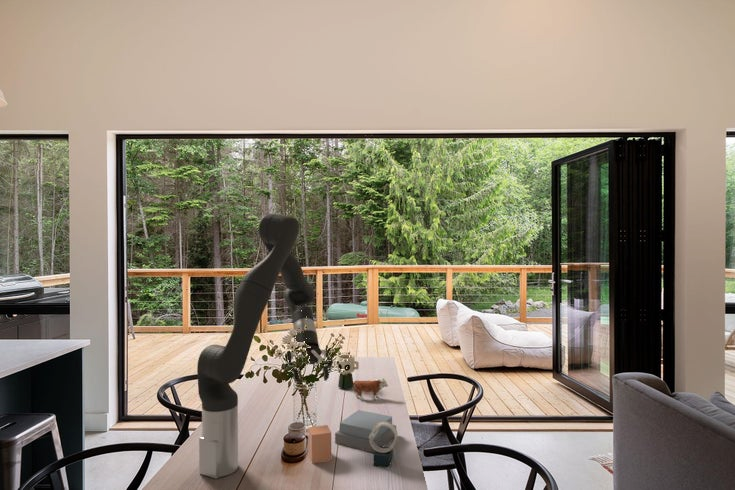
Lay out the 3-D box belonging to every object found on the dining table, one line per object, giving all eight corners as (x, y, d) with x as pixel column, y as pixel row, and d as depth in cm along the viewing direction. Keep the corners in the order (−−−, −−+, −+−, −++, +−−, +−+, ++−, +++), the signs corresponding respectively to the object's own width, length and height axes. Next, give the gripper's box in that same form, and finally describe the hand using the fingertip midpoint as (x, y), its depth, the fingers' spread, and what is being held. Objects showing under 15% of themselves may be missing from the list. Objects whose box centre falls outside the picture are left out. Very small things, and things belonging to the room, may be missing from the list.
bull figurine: (388, 401, 180) (388, 379, 179) (352, 400, 180) (352, 379, 180) (387, 397, 184) (387, 376, 184) (353, 396, 184) (353, 376, 184)
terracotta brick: (331, 460, 133) (331, 432, 132) (311, 463, 131) (311, 435, 131) (327, 452, 138) (327, 424, 138) (308, 454, 136) (308, 427, 136)
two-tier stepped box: (376, 453, 137) (376, 432, 137) (335, 443, 144) (335, 423, 144) (396, 434, 150) (396, 415, 149) (357, 426, 156) (357, 408, 156)
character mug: (330, 389, 193) (330, 357, 193) (336, 383, 200) (336, 353, 200) (355, 391, 190) (355, 359, 190) (360, 386, 197) (361, 355, 197)
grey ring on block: (371, 455, 135) (371, 417, 135) (398, 459, 134) (399, 420, 133) (366, 465, 130) (366, 425, 130) (395, 468, 128) (395, 428, 128)
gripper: (284, 330, 151) (290, 377, 140) (328, 327, 155) (337, 372, 145) (282, 343, 156) (287, 389, 146) (325, 340, 160) (333, 384, 150)
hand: (312, 380), depth 145 cm, fingers open, 8 cm apart
